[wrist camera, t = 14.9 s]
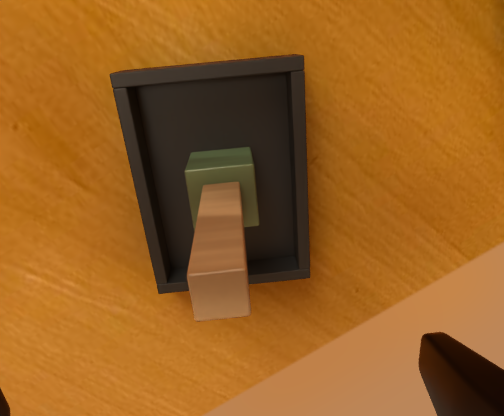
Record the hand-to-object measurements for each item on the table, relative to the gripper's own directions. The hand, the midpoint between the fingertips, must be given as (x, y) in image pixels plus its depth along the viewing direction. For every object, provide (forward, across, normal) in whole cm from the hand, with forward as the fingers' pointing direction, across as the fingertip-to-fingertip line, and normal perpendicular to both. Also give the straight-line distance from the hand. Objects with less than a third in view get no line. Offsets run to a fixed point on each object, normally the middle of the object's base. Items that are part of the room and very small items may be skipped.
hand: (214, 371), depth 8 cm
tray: (+13, 0, 0) cm, 13 cm away
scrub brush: (+12, 0, 0) cm, 13 cm away
